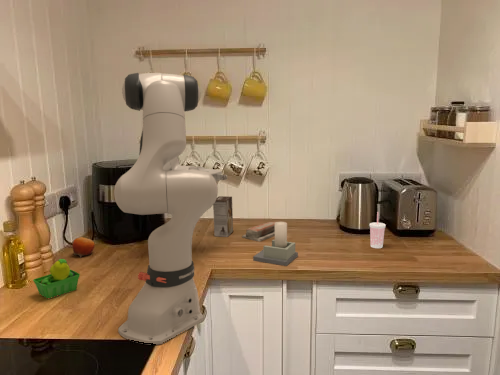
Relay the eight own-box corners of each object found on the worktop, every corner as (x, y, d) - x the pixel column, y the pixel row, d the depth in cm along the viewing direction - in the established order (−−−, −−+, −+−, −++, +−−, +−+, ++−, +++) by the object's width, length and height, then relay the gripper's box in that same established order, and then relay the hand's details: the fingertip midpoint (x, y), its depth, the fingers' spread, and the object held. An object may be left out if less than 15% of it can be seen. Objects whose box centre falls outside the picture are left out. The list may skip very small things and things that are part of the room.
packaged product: (260, 231, 173) (241, 227, 180) (260, 243, 174) (241, 238, 181) (285, 222, 187) (267, 218, 193) (285, 232, 188) (267, 229, 194)
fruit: (63, 254, 159) (71, 233, 161) (79, 258, 165) (86, 239, 168) (78, 257, 155) (86, 236, 157) (94, 261, 162) (101, 241, 164)
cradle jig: (286, 266, 147) (286, 250, 146) (253, 260, 153) (253, 245, 152) (297, 256, 157) (297, 242, 156) (266, 251, 162) (266, 237, 161)
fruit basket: (70, 283, 135) (66, 249, 133) (84, 290, 130) (81, 255, 128) (33, 295, 127) (29, 259, 125) (47, 303, 121) (43, 266, 119)
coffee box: (219, 230, 192) (218, 195, 189) (233, 231, 190) (232, 196, 187) (213, 236, 183) (212, 200, 180) (228, 237, 181) (227, 200, 178)
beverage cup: (382, 244, 169) (384, 210, 166) (386, 249, 163) (387, 213, 160) (367, 243, 169) (368, 209, 167) (370, 248, 163) (371, 213, 161)
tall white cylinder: (284, 257, 151) (284, 225, 148) (272, 256, 153) (272, 224, 150) (288, 254, 154) (288, 222, 152) (277, 252, 156) (277, 221, 154)
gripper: (170, 172, 149) (203, 174, 143) (203, 166, 167) (233, 167, 161) (171, 190, 151) (204, 192, 144) (203, 181, 168) (233, 183, 162)
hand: (219, 179), depth 153 cm, fingers open, 8 cm apart
